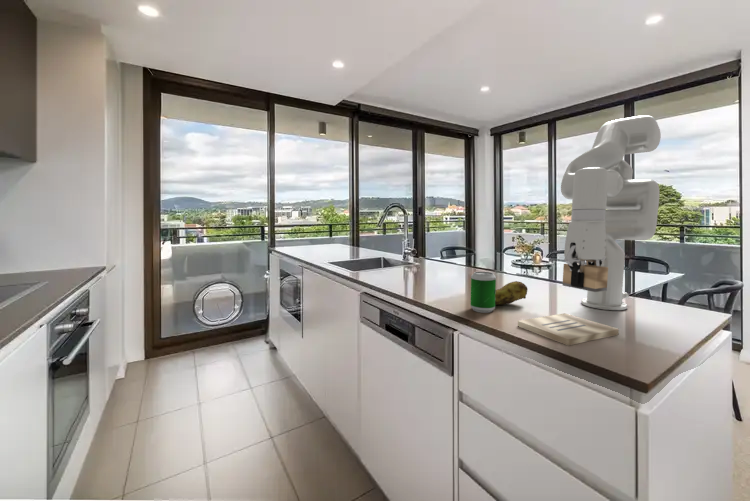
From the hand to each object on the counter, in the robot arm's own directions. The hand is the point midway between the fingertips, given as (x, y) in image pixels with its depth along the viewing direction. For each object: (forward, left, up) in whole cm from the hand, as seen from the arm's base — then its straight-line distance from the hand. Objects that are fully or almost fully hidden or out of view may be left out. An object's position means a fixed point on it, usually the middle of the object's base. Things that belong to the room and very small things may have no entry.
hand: (583, 285), depth 89 cm
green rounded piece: (+1, -26, -12) cm, 29 cm away
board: (+6, 0, -11) cm, 13 cm away
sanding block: (0, 0, -1) cm, 1 cm away
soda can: (+13, -24, -12) cm, 30 cm away
